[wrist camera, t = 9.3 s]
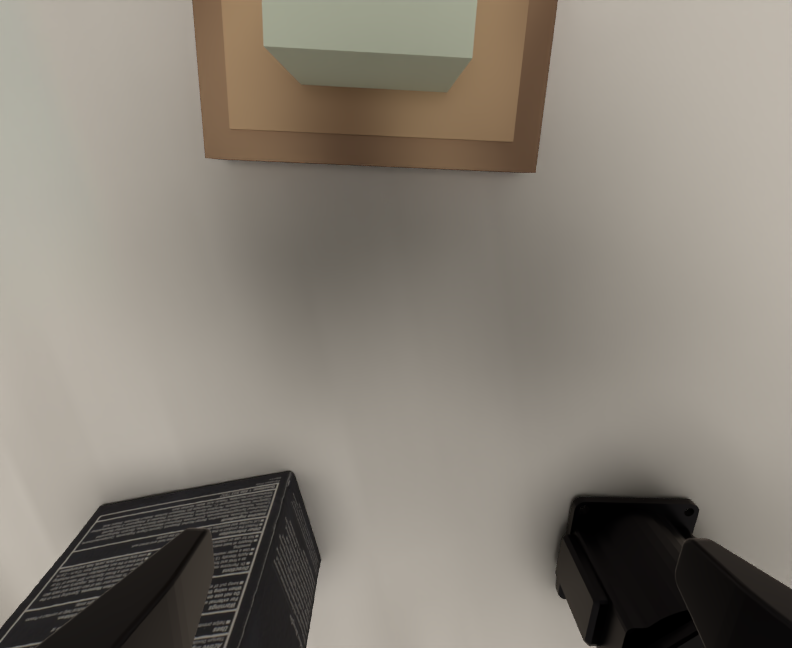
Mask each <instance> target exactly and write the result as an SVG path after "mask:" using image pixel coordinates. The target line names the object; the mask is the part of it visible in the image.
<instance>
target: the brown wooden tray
mask: <svg viewBox="0 0 792 648" xmlns="http://www.w3.org/2000/svg"><path fill="white" fill-rule="evenodd" d="M192 2H193V15H194V27H195V39H196V51H197V63H198V75H199V87H200V100H201V112H202V124H203V136H204V148H205V158H212V159H224V160H245V161H268V162H291V163H313V164H336V165H359V166H381V167H404V168H426V169H449V170H472V171H494V172H517V173H535V172H536V165H537V157H538V149H539V141H540V134H541V126H542V118H543V110H544V103H545V95H546V87H547V80H548V72H549V64H550V56H551V49H552V41H553V33H554V25H555V18H556V10H557V2H558V0H477V11H476V22H475V34H474V45H473V56H472V59H471V61H470V62H469V63H468V65H467V66H466V68H465V69H464V70H463V72H462V73H461V74H460V76H459V77H458V78H457V80H456V81H455V82H454V84H453V85H452V87H451V88H450V89H449V91H448V92H429V91H410V90H392V89H374V88H356V87H338V86H319V85H301V84H300V83H299V82H298V81H297V80H296V79H295V78H294V77H293V76H292V75H291V74H290V73H289V72H288V71H287V70H286V69H285V68H284V67H283V66H282V65H281V64H280V63H279V61H278V60H277V59H276V58H275V57H274V56H273V55H272V54H271V53H270V52H269V51H268V50H267V49H266V48H265V47H264V46H263V20H262V0H192Z"/></svg>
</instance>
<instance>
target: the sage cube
mask: <svg viewBox="0 0 792 648" xmlns="http://www.w3.org/2000/svg"><path fill="white" fill-rule="evenodd" d="M476 11H477V0H262V20H263V46H264V47H265V48H266V49H267V50H268V51H269V52H270V53H271V54H272V55H273V56H274V57H275V58H276V59H277V60H278V61H279V63H280V64H281V65H282V66H283V67H284V68H285V69H286V70H287V71H288V72H289V73H290V74H291V75H292V76H293V77H294V78H295V79H296V80H297V81H298V82H299V83H300V84H301V85H319V86H338V87H356V88H374V89H392V90H410V91H429V92H448V91H449V89H450V88H451V87H452V85H453V84H454V82H455V81H456V80H457V78H458V77H459V76H460V74H461V73H462V72H463V70H464V69H465V68H466V66H467V65H468V63H469V62H470V61H471V59H472V56H473V45H474V34H475V22H476Z"/></svg>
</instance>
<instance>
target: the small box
mask: <svg viewBox="0 0 792 648" xmlns="http://www.w3.org/2000/svg"><path fill="white" fill-rule="evenodd" d="M187 528H207V529H209V530H210V532H211V535H212V543H213V553H214V573H213V578H212V581H211V584H210V588H209V591H208V594H207V598H206V601H205V604H204V608H203V611H202V615H201V618H200V621H199V625H198V628H197V631H196V635H195V638H194V641H193V645H192V648H306V645H307V639H308V633H309V629H310V621H311V616H312V609H313V603H314V596H315V590H316V584H317V578H318V572H319V568H320V562H321V559H320V555H319V552H318V548H317V545H316V541H315V538H314V535H313V532H312V528H311V525H310V522H309V519H308V516H307V513H306V510H305V507H304V504H303V501H302V497H301V494H300V491H299V488H298V485H297V482H296V478H295V476H294V474H293V473H292V472H283V473H277V474H271V475H265V476H260V477H255V478H250V479H244V480H238V481H233V482H228V483H223V484H217V485H211V486H206V487H200V488H196V489H190V490H184V491H179V492H174V493H168V494H163V495H157V496H152V497H147V498H141V499H135V500H131V501H125V502H121V503H115V504H110V505H104V506H100V507H99V508H98V509H97V511H96V512H95V513H94V514H93V516H92V517H91V518H90V520H89V521H88V522H87V524H86V525H85V526H84V527H83V529H82V530H81V531H80V533H79V534H78V535H77V537H76V538H75V539H74V540H73V541H72V543H71V544H70V545H69V547H68V548H67V549H66V550H65V552H64V553H63V554H62V555H61V556H60V557H59V559H58V560H57V561H56V562H55V563H54V565H53V566H52V568H51V569H50V570H49V571H48V572H47V573H46V574H45V576H44V577H43V578H42V579H41V580H40V582H39V583H38V584H37V585H36V586H35V588H34V589H33V590H32V592H31V593H30V594H29V596H28V597H27V598H26V599H25V600H24V601H23V602H22V603H21V604H20V605H19V607H18V608H17V609H16V610H15V612H14V613H13V614H12V615H11V617H10V618H9V619H8V620H7V621H6V622H5V623H4V625H3V626H2V627H1V629H0V648H35V647H36V646H37V645H39V644H40V643H41V642H43V641H44V640H45V639H46V638H48V637H49V636H50V635H51V634H53V633H54V632H55V631H56V630H58V629H59V628H60V627H62V626H63V625H64V624H65V623H67V622H68V621H69V620H70V619H72V618H73V617H74V616H76V615H77V614H78V613H79V612H81V611H82V610H83V609H84V608H86V607H87V606H88V605H90V604H91V603H92V602H93V601H95V600H96V599H97V598H98V597H100V596H101V595H102V594H104V593H105V592H106V591H107V590H109V589H110V588H111V587H112V586H114V585H115V584H116V583H118V582H119V581H120V580H121V579H123V578H124V577H125V576H126V575H128V574H129V573H130V572H131V571H133V570H134V569H135V568H137V567H138V566H139V565H140V564H142V563H143V562H144V561H145V560H147V559H148V558H149V557H151V556H152V555H153V554H154V553H156V552H157V551H158V550H159V549H161V548H162V547H163V546H165V545H166V544H167V543H168V542H170V541H171V540H172V539H173V538H175V537H176V536H177V535H179V534H180V533H181V532H182V531H184V530H185V529H187Z"/></svg>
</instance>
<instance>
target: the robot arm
mask: <svg viewBox="0 0 792 648" xmlns="http://www.w3.org/2000/svg"><path fill="white" fill-rule="evenodd" d="M582 506H585V507H584V508H581V507H582ZM580 508H581V509H580ZM687 509H688V510H687ZM685 510H686V511H685ZM698 513H699V509H698V507H697V506H696V505H695V503H694V502H693V501H691V500H689V499H663V498H621V497H578V498H576V499H575V500H574V501H573V502H572V505H571V510H570V515H569V521H568V526H567V531H566V534H565V535H564V536H563V537H562V541H561V546H560V551H559V556H558V562H557V567H556V576H557V582H556V590H557V592H558V595H559V596H560V597H561V598H563V599H567V602H568V604H569V607H570V609H571V611H572V614H573V616H574V619H575V621H576V623H577V626H578V628H579V631H580V633H581V635H582V638H583V640H584V641H585V642H586V643H587V645H589V646H596V647H597V648H792V589H791V588H789V587H787V586H786V585H784V584H782V583H781V582H779V581H778V580H776V579H774V578H773V577H771V576H769V575H768V574H766V573H764V572H763V571H761V570H760V569H758V568H756V567H755V566H753V565H751V564H750V563H748V562H747V561H745V560H743V559H742V558H740V557H738V556H737V555H735V554H733V553H732V552H730V551H729V550H727V549H725V548H724V547H722V546H720V545H719V544H717V543H715V542H714V541H712V540H710V539H704V538H695V537H694V535H693V534H692V533H693V530H694V527H695V523H696V520H697V517H698ZM213 573H214V553H213V543H212V535H211V532H210V530H209V529H207V528H187V529H185V530H184V531H182V532H181V533H180V534H179V535H177V536H176V537H175V538H173V539H172V540H171V541H170V542H168V543H167V544H166V545H165V546H163V547H162V548H161V549H159V550H158V551H157V552H156V553H154V554H153V555H152V556H151V557H149V558H148V559H147V560H145V561H144V562H143V563H142V564H140V565H139V566H138V567H137V568H135V569H134V570H133V571H131V572H130V573H129V574H128V575H126V576H125V577H124V578H123V579H121V580H120V581H119V582H118V583H116V584H115V585H114V586H112V587H111V588H110V589H109V590H107V591H106V592H105V593H104V594H102V595H101V596H100V597H98V598H97V599H96V600H95V601H93V602H92V603H91V604H90V605H88V606H87V607H86V608H84V609H83V610H82V611H81V612H79V613H78V614H77V615H76V616H74V617H73V618H72V619H70V620H69V621H68V622H67V623H65V624H64V625H63V626H62V627H60V628H59V629H58V630H56V631H55V632H54V633H53V634H51V635H50V636H49V637H48V638H46V639H45V640H44V641H43V642H41V643H40V644H39V645H37V646H36V647H35V648H192V645H193V641H194V638H195V635H196V631H197V628H198V625H199V621H200V618H201V615H202V611H203V608H204V604H205V601H206V598H207V594H208V591H209V588H210V584H211V581H212V578H213Z"/></svg>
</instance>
